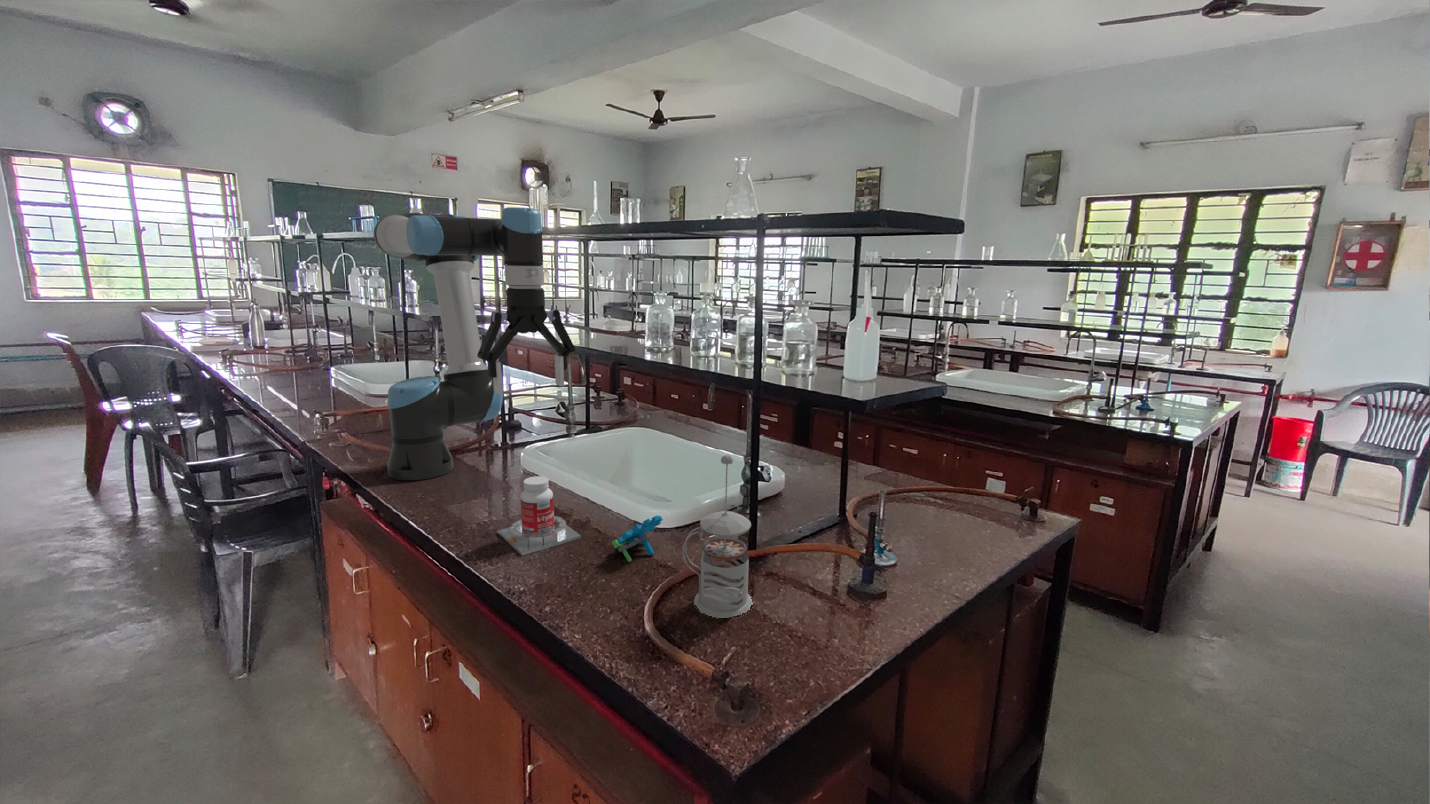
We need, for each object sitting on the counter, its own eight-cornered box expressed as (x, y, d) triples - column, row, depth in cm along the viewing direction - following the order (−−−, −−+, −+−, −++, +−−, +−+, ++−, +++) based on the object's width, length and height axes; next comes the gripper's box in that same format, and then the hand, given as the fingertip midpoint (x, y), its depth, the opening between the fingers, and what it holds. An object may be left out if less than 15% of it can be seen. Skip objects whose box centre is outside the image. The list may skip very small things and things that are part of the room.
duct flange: (497, 533, 124) (497, 523, 124) (554, 518, 132) (553, 508, 131) (521, 555, 115) (521, 545, 115) (580, 538, 123) (580, 528, 122)
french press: (750, 622, 96) (755, 468, 90) (676, 614, 98) (677, 462, 92) (756, 589, 105) (762, 447, 100) (689, 582, 107) (690, 443, 101)
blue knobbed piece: (648, 526, 125) (666, 506, 117) (663, 552, 123) (682, 533, 116) (601, 550, 118) (617, 529, 111) (616, 577, 116) (633, 558, 109)
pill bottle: (539, 542, 119) (537, 488, 117) (515, 535, 122) (512, 482, 119) (561, 530, 125) (559, 478, 122) (537, 523, 128) (534, 472, 125)
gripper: (468, 289, 117) (476, 399, 122) (589, 287, 132) (591, 385, 137) (456, 286, 122) (463, 392, 127) (573, 284, 138) (575, 379, 143)
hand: (530, 389), depth 132 cm, fingers open, 13 cm apart
